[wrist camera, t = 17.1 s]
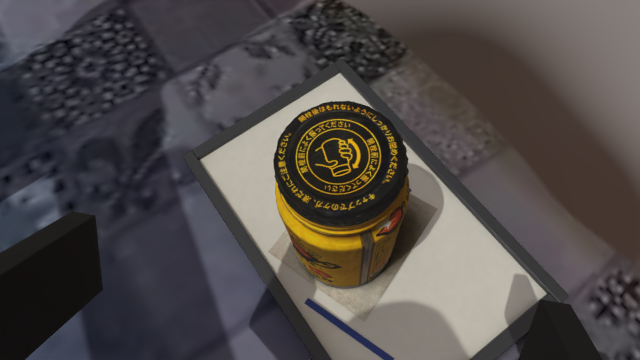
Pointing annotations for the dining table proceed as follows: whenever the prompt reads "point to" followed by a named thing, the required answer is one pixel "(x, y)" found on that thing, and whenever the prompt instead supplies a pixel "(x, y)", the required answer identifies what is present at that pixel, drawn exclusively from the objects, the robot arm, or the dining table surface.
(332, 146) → the condiment
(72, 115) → the dining table surface
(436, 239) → the whiteboard
